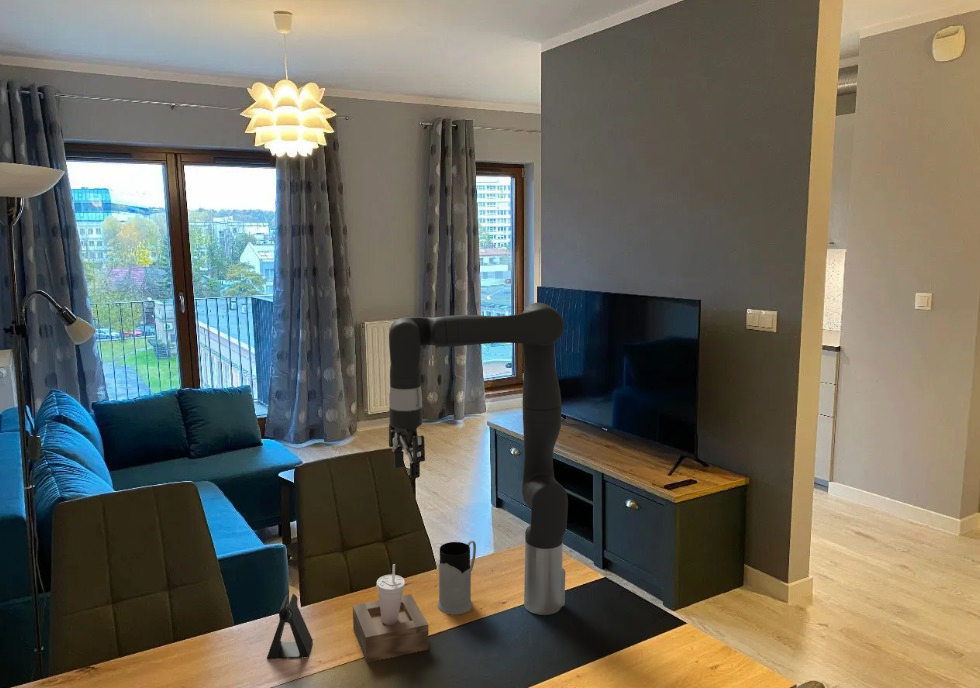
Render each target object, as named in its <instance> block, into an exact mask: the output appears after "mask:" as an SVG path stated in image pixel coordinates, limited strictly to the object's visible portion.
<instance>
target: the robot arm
mask: <svg viewBox="0 0 980 688" xmlns="http://www.w3.org/2000/svg"><path fill="white" fill-rule="evenodd" d="M564 330H565V323H564V319H563V317H562V316H561V314H560V313H559V312H558V310H557V309H555V308H554V307H552V306H550V305H549V304H547V303H543V302H533V303H531V304H529V305H528V306H526V307H525V308H524V310H523V312H521V313H515V314H509V315H478V314H477V315H476V314H458V315H445V316H437V317H428V316H407V317H406V316H405V317H400V318H398V319H395V320H394V321H393V322H392V323H391V325H390V328H389V333H388V345H389V359H390V366H389V385H390V386H389V393H388V394H389V395H388V398H389V399H388V401H389V403H388V404H389V406H388V407H389V409H388V411H389V413H388V414H389V415H388V416H389V424H388V447H389V448H391V452H393V465H394V468H397V469H398V468H403V467H404V466H405V462H404V461H405V460H404V454H405V455H407V456H408V460H409V477H410V479H418V478H420V476H421V466H420V465H421V463H422V462H423V463H424V462H425V461H426V451H425V450H426V449H425V445H426V444H425V436H424V435H423V434H422V435H418V431H417V429H418V428H419V427H421V425H422V424H423V395H422V394H423V393H422V380H421V379H422V378H421V377H422V376H421V375H422V373H421V372H422V371H421V364H420V361H421V360H420V358H421V346H423V347H424V346H434V347H436V348H450V347H464V346H474V345H483V344H484V345H485V344H487V345H488V344H489V345H490V344H498V343H499V344H522V350H523V351H522V352H523V376H522V377H523V379H522V403H521V404H522V428H523V451H524V458H523V459H524V460H523V461H524V462H523V470H522V471H523V473H522V483H521V485H522V486H521V495H522V498H523V499H522V500H523V501H524V503H525V505H526V506H527V507H529V509H530V510H531V513H530V516H531V517H530V525H529V526H527V527H526V528H525V534H524V539H525V540H524V544H525V545H524V580H523V581H524V586H523V587H524V588H523V589H524V591H523V592H524V594H523V595H524V596H523V605H524V608H525V609H526V610H527V611H528V612H530V613H532V614H534V615H540V616H548V615H554V614H556V613H558V612H559V611H560V610H561V609H562V607H564V606H565V603H566V602H565V601H566V599H565V598H566V569H565V568H563V556H564V555H563V554H564V553H563V552H564V551H563V549H564V535H566V531H567V526H568V525H567V524H568V509H569V499H568V493H567V490H566V489H565V488H564V486H563V485H562V484H560V482H558V481H557V480H556V478H555V473H554V472H555V471H554V449H555V445H556V442H557V440H558V437H559V435H560V431H561V426H562V395H561V388H560V383H559V379H558V374H557V370H556V369H557V368H556V362H555V346H556V345H555V344H556V342H557V341H558V340H560V338H561V337H562V335H563V333H564Z"/></svg>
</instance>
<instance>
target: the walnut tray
mask: <svg viewBox="0 0 980 688" xmlns="http://www.w3.org/2000/svg"><path fill="white" fill-rule="evenodd" d="M352 622H353V623H352V626H353V627H352V629H353V632H354V635H355V638H356V640H357V642H358V645H359V647H360V650H361V654H362V655H363V659H364V660H365V663H366V664H369V663H372V662H376V661H377V660H378V661H382V660H381V659H383V660H386V658H387V659H391V657H392V658H395V657H400V656H405V655H409V654H413V653H414V654H415V653H418V651H419V652H422V651H428V650H429V643H430V642H429V639H430V638H429V623H428V621H427V620H426V618H425V616H424V614H423V612H422V611H421V609H420V607H419V605H418V604H417V601H415V599H414V596H413V595H412V593H410V594H404V595H402V599H401V605H400V610H399V616H398V621H397V622H396V623H395V624H392V625H386V624H384V623H382V621H381V611H380V602H379V599H378V600H373V601H367V602H363V603H358V604H353V605H352ZM378 661H377V662H378Z"/></svg>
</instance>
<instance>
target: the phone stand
mask: <svg viewBox="0 0 980 688" xmlns="http://www.w3.org/2000/svg"><path fill="white" fill-rule="evenodd" d="M289 596H290V595H289V593H288V594H286V595H285V596H284V597H283V601H282V604H281V606H280V609H279V611H278V617H279V622H278V625H277V628H276V630H275V633H274V636H273V639H272V642H271V643H270V644H271V645H270V647H269V651H268V654H267V656H266V659H267V660H286V659H289V658H290V659H305V658H304V657H308V658H309V656H310V653H311V649H312V646H313V641H314V640H313V638H312V636H311V633H310V631H309V628H308V626H307V624H306V621H305V619H304V617H303V615H302V613H301V610H300V608H299V606H298V600H299V599H298V596H297V595H296V594H294V593H292V594H291V598H290V601H289V603H287V602H288V599H289ZM285 624H289V627H290V629H291V632H292V636H293V638H294V640H291V641H281V640H282V636H283V633H284V629H285ZM302 657H303V658H302Z"/></svg>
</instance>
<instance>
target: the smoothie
mask: <svg viewBox="0 0 980 688" xmlns="http://www.w3.org/2000/svg"><path fill="white" fill-rule="evenodd" d="M405 587H406V580H405V579H404V577H402V576H401V575H397V574H396V564H395V563H394V564H392V573H391V574H385V575H383V576H380V577H379V578H377V580H376V589H377V590H378V598H379V599H378V600H379V602H380V611H381V621H382V623H384V624H386V625H392V624H395V623H396V622H397V621H398V616H399V610H400V605H401V599H402V596H403V592H404V589H405Z"/></svg>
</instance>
